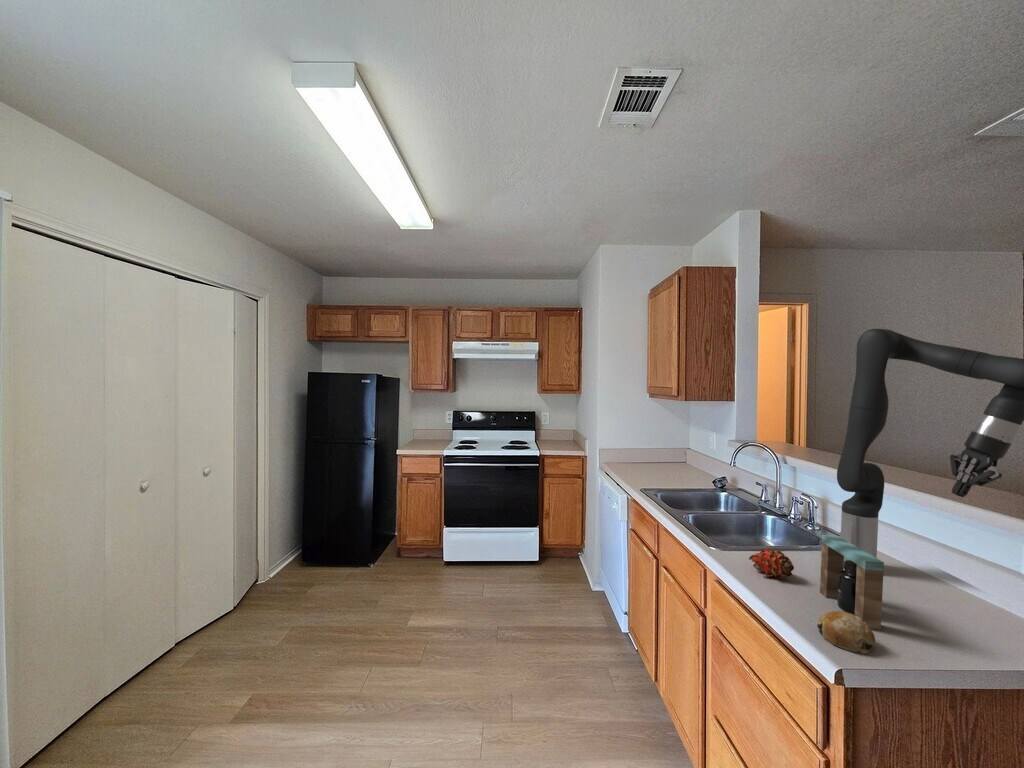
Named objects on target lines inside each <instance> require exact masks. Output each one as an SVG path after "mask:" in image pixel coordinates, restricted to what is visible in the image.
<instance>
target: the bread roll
mask: <svg viewBox="0 0 1024 768" xmlns="http://www.w3.org/2000/svg"><path fill="white" fill-rule="evenodd" d="M815 624H816V626H817V628H818V632H819V633H820V636H822V638H823V640H825V641H827V642H828V643H829V644H831V645H833V646H836V647H838V648H840V649H843V650H845V651H848V652H853V653H860V654H862V655H864V654H865V655H866V654H869V652H870V651H871V650H872V649H874V648H875V646H876V638H875V637H876V636H875V634H874V632H873V629H870V627H869V626H868V625H867V624H866V623H865V622H863V620H862V619H861V618H860V617H858V616H855V615H853V614H850V613H847V612H845V611H843V610H842V611H840V610H839V611H838V610H835V611H833V610H832V611H829V612H826V613H825V614H822V615H820V616H819V619H817V620H816V623H815Z"/></svg>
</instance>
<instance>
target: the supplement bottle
mask: <svg viewBox="0 0 1024 768" xmlns="http://www.w3.org/2000/svg"><path fill="white" fill-rule="evenodd" d="M856 573H857V564H856V563H854V562H853V561H851V560H846V561H844V567H843V570H842V571H841V572H840V573H839V578H838V597H837V598H836V599H837V606H838V608H840V610H842V611H843V612H847V613H850V614H853V615H854V616H855V596H856Z"/></svg>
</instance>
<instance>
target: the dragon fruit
mask: <svg viewBox="0 0 1024 768" xmlns="http://www.w3.org/2000/svg"><path fill="white" fill-rule="evenodd" d="M748 560H749V561H750V560H751V562H753V564H752V566H753V568H754V569H756V570H757V571H760V572H762V573H764V574H765V576H766V577H767V578H770V577H773V576H774V577H775V578H776V579H782V578H783V577H791V576H793V573H792V572H793V571H794V570H795V567H794V564H793V562H792V561H791V559H790V558H789V557H788V556H786V555H785V553H783V552H782V551H780V550H779V549H777V550H776V551H775V550H774V549H773V548H768V547H767V548H765V549H761V550H760V552H757V553H754V554H751V555H750V556H749V558H748Z"/></svg>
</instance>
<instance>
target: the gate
mask: <svg viewBox="0 0 1024 768" xmlns="http://www.w3.org/2000/svg"><path fill="white" fill-rule="evenodd" d="M844 556H845V557H846V558H848V559H850V560H851V561H853V562H854V563H856V564H857V573H856V596H855V615H854V616H858V617H860V618H861V619H862V620H863V622H865V623H866V624H867V625H868V626H869V627H870V629H871V630H877V631H878V630H882V613H883V612H882V609H883V591H884V567H885V562H884V561H882V560H880V559H879V558H875V557H874V556H872V555H870V554H868V553H867V552H865V551H863V550H862V549H860V548H858V547H856V546H855V545H853V544H851V543H849V542H848V541H846V540H844V539H842V538H841V537H840V535H829V534H822V535H821V557H820V558H821V559H820V560H821V561H820V582H819V593H820V594H821V595H822V596H824V597H825V598H827V599H837V597H838V578H839V573H840V572H841V571H842V570H844Z"/></svg>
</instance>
